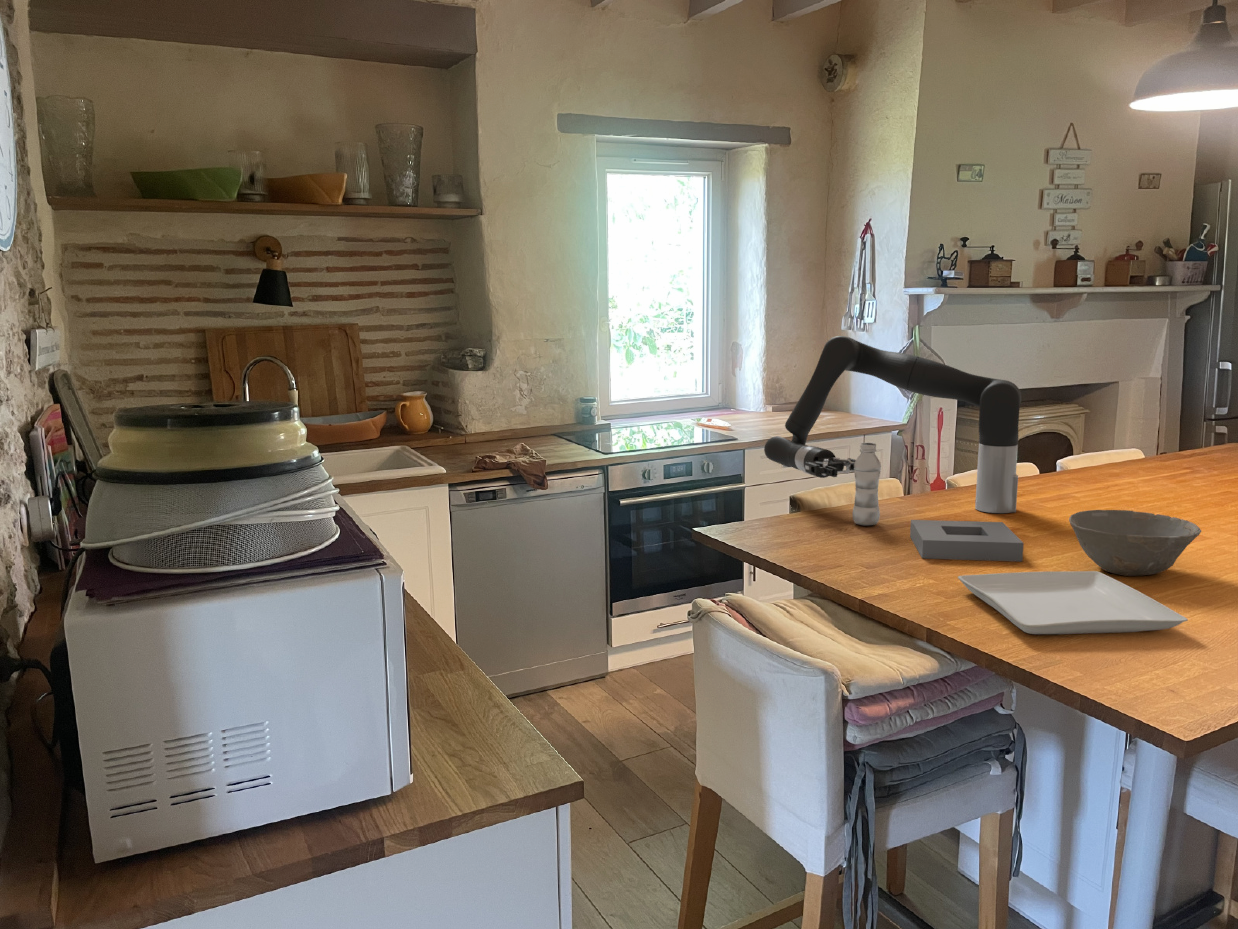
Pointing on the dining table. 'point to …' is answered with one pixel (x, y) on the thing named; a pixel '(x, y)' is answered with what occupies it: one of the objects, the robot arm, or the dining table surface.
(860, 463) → the plastic bottle
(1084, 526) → the ceramic bowl
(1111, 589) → the square plate
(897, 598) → the dining table surface
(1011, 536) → the socket block
